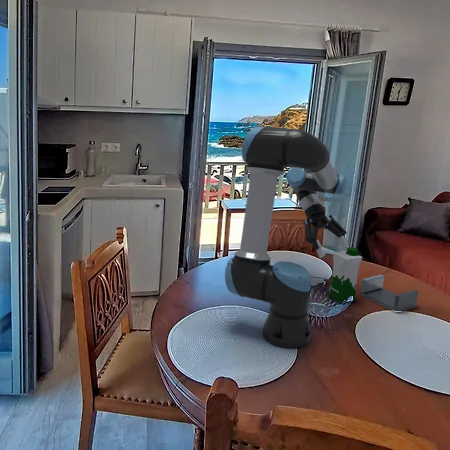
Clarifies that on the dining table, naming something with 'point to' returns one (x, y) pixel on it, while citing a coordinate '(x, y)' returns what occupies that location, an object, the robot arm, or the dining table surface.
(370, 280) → the block
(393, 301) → the vise base
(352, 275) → the soya milk
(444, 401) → the dining table surface
